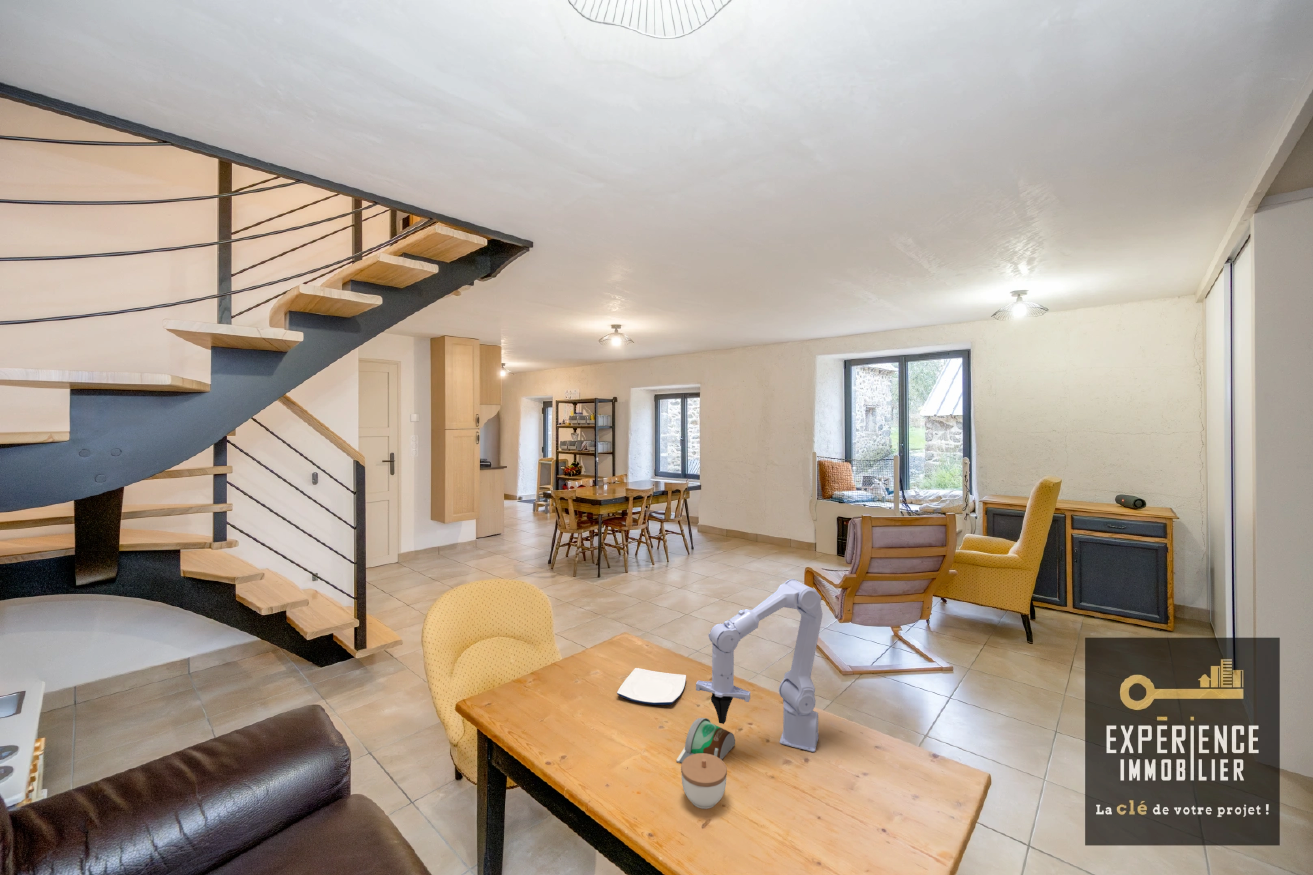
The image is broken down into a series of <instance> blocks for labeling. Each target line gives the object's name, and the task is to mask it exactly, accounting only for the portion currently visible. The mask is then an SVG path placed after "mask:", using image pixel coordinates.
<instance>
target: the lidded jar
mask: <svg viewBox="0 0 1313 875" xmlns="http://www.w3.org/2000/svg"><path fill="white" fill-rule="evenodd" d="M680 764H681V765H680V772H681V784H682V789H683V791H684V794H685V796H686V798H687V799H688V801H689V802H691V804H692V805H693V806H694V807H695V808H698V809H702V810H709V809H712V808H713V807H715V806H716V804H718V803H719V802H720V800H722V798H723V796H724V794H725V792H726V791H725V790H726V786H727V775H728V767H727V765H726V763H725V762H724V760H723V759H722V760H721V759H720V758H718V757H716V756H714V755H711V754H706V753H698V754H693V755H690V756H688V757H687V758H685V759H684V761H683V762H682V763H680Z"/></svg>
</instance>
